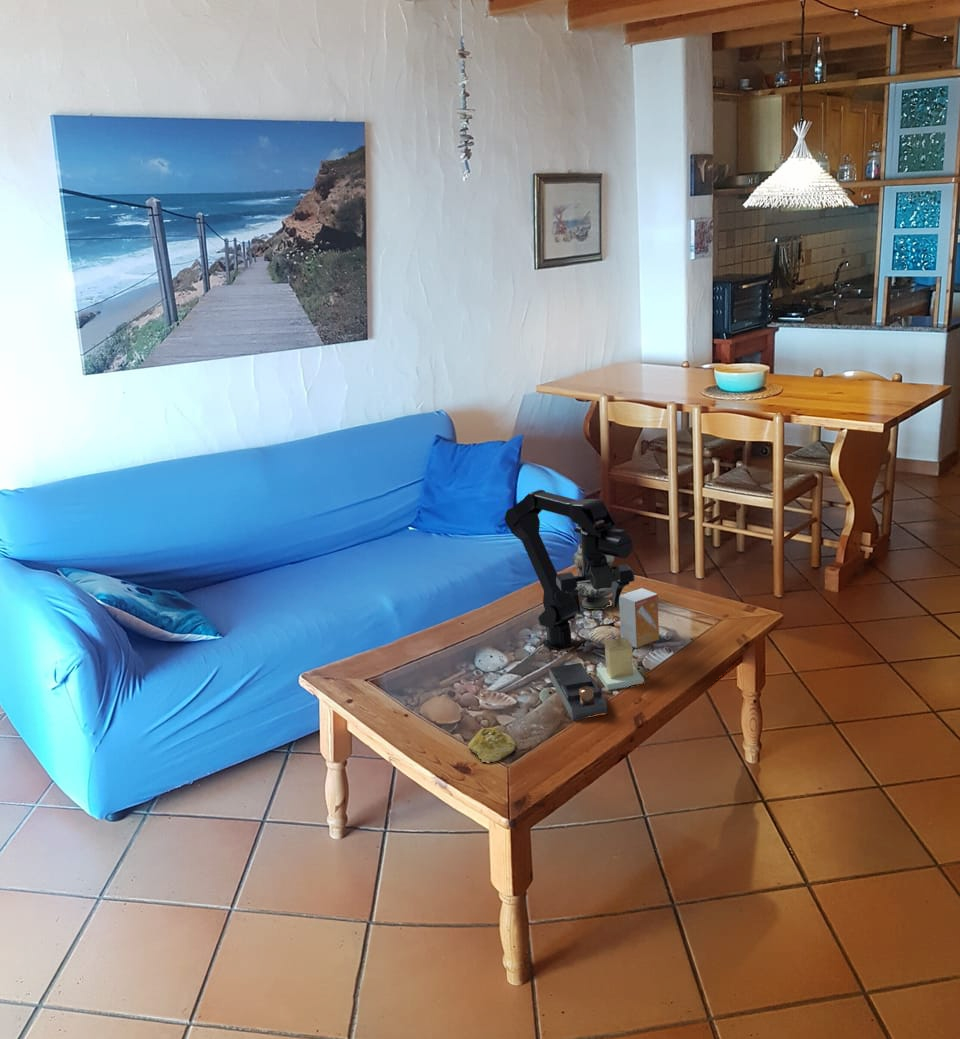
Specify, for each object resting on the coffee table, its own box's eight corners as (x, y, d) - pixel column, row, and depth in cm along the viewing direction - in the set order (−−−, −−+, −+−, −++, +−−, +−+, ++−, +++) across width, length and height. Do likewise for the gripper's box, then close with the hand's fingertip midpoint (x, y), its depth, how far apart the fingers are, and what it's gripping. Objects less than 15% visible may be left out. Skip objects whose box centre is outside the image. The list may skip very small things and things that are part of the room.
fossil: (515, 731, 201) (468, 738, 200) (519, 759, 201) (471, 766, 200) (509, 719, 212) (464, 725, 211) (513, 745, 212) (468, 752, 211)
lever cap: (605, 670, 234) (603, 640, 232) (627, 667, 235) (625, 637, 233) (611, 678, 230) (609, 648, 228) (633, 675, 231) (631, 644, 228)
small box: (636, 649, 248) (634, 601, 244) (620, 641, 253) (618, 595, 250) (660, 639, 252) (658, 593, 249) (643, 632, 257) (641, 587, 254)
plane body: (549, 678, 236) (548, 656, 234) (581, 673, 237) (580, 651, 235) (572, 720, 215) (571, 696, 213) (607, 714, 216) (605, 690, 215)
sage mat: (596, 674, 236) (596, 668, 236) (632, 668, 237) (632, 663, 237) (607, 690, 228) (607, 684, 227) (644, 684, 229) (643, 678, 228)
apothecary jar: (600, 614, 272) (597, 554, 267) (566, 607, 280) (562, 548, 275) (624, 600, 280) (621, 542, 275) (590, 593, 288) (587, 536, 283)
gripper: (564, 566, 228) (568, 627, 233) (640, 555, 231) (643, 615, 235) (553, 552, 239) (557, 610, 243) (626, 542, 241) (629, 600, 246)
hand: (596, 609), depth 242 cm, fingers open, 9 cm apart
